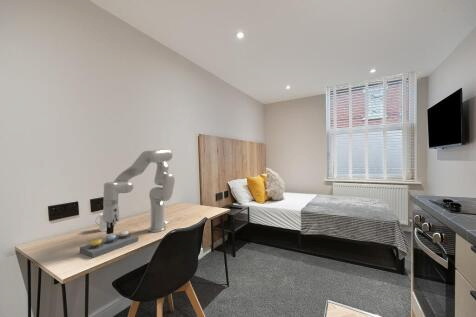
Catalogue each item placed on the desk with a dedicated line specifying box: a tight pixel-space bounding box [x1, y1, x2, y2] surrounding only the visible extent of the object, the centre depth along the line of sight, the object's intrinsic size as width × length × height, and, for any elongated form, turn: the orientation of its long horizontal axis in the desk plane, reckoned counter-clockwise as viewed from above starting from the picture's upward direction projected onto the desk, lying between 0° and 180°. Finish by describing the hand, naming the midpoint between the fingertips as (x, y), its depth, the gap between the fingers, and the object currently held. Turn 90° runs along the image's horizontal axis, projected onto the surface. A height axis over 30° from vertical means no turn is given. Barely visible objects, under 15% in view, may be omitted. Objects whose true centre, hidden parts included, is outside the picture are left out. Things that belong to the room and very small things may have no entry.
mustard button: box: [90, 238, 103, 246], centre depth 113 cm, size 5×5×2 cm
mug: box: [95, 212, 107, 233], centre depth 150 cm, size 12×8×12 cm
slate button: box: [105, 233, 117, 241], centre depth 120 cm, size 5×5×2 cm
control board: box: [79, 233, 139, 259], centre depth 120 cm, size 26×14×3 cm, turn 150°
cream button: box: [119, 229, 130, 236], centre depth 127 cm, size 5×5×2 cm
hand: (109, 233), depth 120 cm, fingers closed
